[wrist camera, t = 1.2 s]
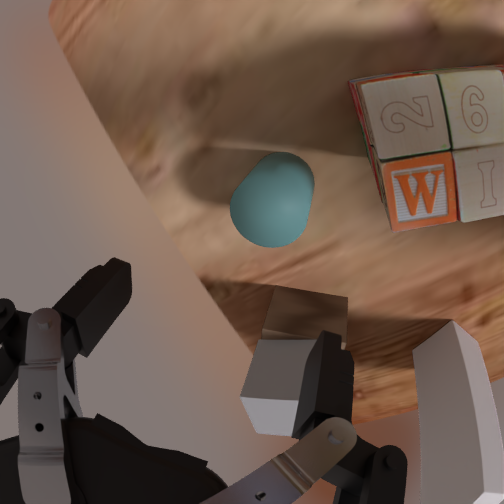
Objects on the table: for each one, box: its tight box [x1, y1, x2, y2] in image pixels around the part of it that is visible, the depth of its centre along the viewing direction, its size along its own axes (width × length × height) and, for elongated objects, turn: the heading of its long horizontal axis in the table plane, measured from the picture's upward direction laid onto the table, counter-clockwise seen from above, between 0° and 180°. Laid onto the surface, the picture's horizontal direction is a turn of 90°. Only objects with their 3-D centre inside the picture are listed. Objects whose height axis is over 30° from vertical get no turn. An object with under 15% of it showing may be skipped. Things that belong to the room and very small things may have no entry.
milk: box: [412, 320, 504, 504], centre depth 20 cm, size 6×6×22 cm
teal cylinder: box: [230, 152, 314, 248], centre depth 22 cm, size 5×5×6 cm
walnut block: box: [261, 285, 348, 350], centre depth 29 cm, size 7×7×6 cm
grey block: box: [240, 340, 317, 436], centre depth 24 cm, size 6×6×6 cm
